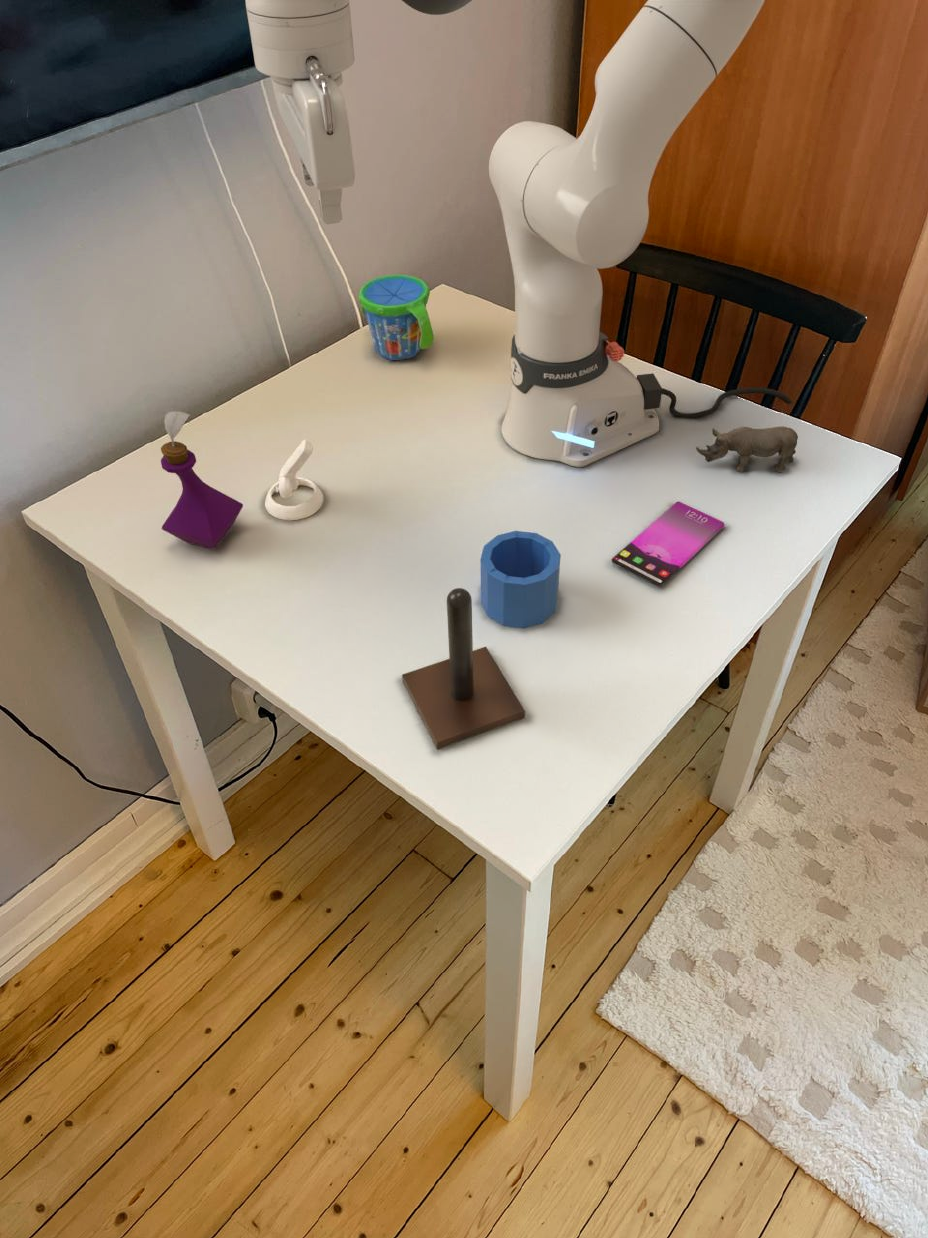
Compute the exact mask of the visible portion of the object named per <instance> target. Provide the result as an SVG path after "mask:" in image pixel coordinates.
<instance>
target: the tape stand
mask: <svg viewBox="0 0 928 1238" xmlns="http://www.w3.org/2000/svg"><path fill="white" fill-rule="evenodd" d="M446 615H447V636H448V657H449V658H447V659H445V660H441V661H438V662H435V663H432V664H429V665H427V666H424V667H421V668H418V669H415V670H412V671H409V672H405V673H403V674H401V678H402V683H403V685H404V688H405V689H406V691H407V693H408V695H409V697H410V699H411V701H412V703H413V705H414V707H415V710H416V712H417V713H418V715H419V717H420V719H421V721H422V723H423V725H424V727H425V729H426V731H427V732H428V734H429V736H430V738H431V741H432V742H433V744H434V747H435V749H436V750H439V749H443V748H446V747H447V746H450V745H453V744H456V743H459V742H462V741H464V740H468V739H470V738H473V737H476V736H479V735H481V734H483V733H487V732H489V731H492V730H495V729H498V728H501V727H503V726H506V725H508V724H511V723H514V722H517V721H520V720H523V719H525V718H526V710H525V708H524V706H523V705H522V703H521V702H520V699H519V698H518V697H517V695H516V694H515V692H514V690H513V689H512V687H511V686H510V684H509V682H508V681H507V679H506V677H505V676H504V674H503V672H502V671H501V669H500V667H499V666H498V664H497V662H496V660H495V659H494V658H493V655H492V654H491V653H490V651H489V649H488V648H487V646H484V647H481V648H477V649H473V648H474V646H473V645H474V643H473V639H474V638H473V598H472V596H471V594H470V592H469V591H468V590H466V589H465V588H462V587H457V588H454V589H452V590H451V591H449V593H448V594H447V597H446Z"/></svg>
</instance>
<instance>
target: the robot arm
mask: <svg viewBox="0 0 928 1238" xmlns="http://www.w3.org/2000/svg"><path fill="white" fill-rule="evenodd" d="M401 1H402V3H404V4H406V5H407V6H408V7H410V8H411V9H413V10H415V11H417V12H419V13H422V14H425V15H432V16H441V15H447V14H451V13H453V12H456V11H459V10H460V9H462V8H463V7H465V6H467V5H468V4H469V3H471V2H472V1H473V0H401ZM765 1H766V0H647V1H646V2H645V3H644V5H643V6H642V8H641V9H640V10H639V11H638V13H637V14H636V16H635V17H634V18H633V19H632V21H631V22H630V23H629V25H628V26H627V28H626V29H625V30H624V31H623V33H622V34H621V36H620V37H619V38H618V40H617V41H616V43H614V45H613V46H612V48H611V49H610V50H609V52H608V53H607V54H606V56H605V57H604V59H603V60H602V61H601V63H600V64H599V65H598V67H597V69H596V72H595V76H594V90H595V99H594V103H593V106H592V110H591V113H590V115H589V117H588V119H587V121H586V123H585V126H584V128H583V130H582V132H581V133H580V135H579V136H578V138H576V137H575V136H574V135H573V134H570V133H569V132H567V131H566V130H564V129H563V128H562V127H559V126H557V125H553V124H550V123H549V124H548V123H544V122H538V121H531V120H525V121H521V122H520V121H519V122H518V123H515V124H513V125H512V126H510V127H509V128H507V129H506V130H505V131H504V132H503V133H502V134H501V135H500V136H499V137H498V139H497V140H496V142H495V143H494V145H493V148H492V150H491V153H490V156H489V161H488V174H489V175H488V176H489V179H490V183H491V185H492V188H493V190H494V192H495V195H496V197H497V200H498V203H499V208H500V211H501V215H502V221H503V226H504V231H505V236H506V242H507V248H508V252H509V257H510V262H511V269H512V274H513V281H514V282H513V283H514V284H513V285H514V334H513V336H512V338H511V345H510V348H511V349H510V365H509V366H510V379H511V387H510V393H509V399H508V404H507V409H506V412H505V416H504V418H503V421H502V423H501V427H500V429H501V435H502V437H503V439H504V441H505V443H506V444H508V445H509V446H510V447H511V448H512V449H513V450H515V451H517V452H519V453H520V454H522V455H525V456H528V457H530V458H535V459H540V460H547V461H554V462H555V461H556V462H560V463H563V464H566V465H568V466H572V467H576V468H583V467H586V466H588V465H591V464H593V463H595V462H597V461H598V460H601V459H604V458H606V457H607V456H610V455H612V454H614V453H617V452H619V451H621V450H622V449H624V448H626V447H629V446H632V445H633V444H636V443H639V442H640V441H642V440H645V439H647V438H649V437H651V436H653V435H655V434H657V433H658V432H659V431H660V419H659V415H658V413H657V412H656V410H655V409H661V403H662V396H663V395H665V396H666V397H668V398H669V399H670V403H669V407H668V410H669V413H670V414H671V415H672V416H674V417H675V418H677V419H678V418H679V419H686V420H687V419H688V420H689V419H690V420H692V419H698V418H702V417H707V416H710V415H712V414H715V413H716V412H717V411H718V409H719V408H720V407H721V405H722V402H723V401H724V400H725V399H726V398H730V397H733V396H739V395H744V394H745V395H746V394H763V395H764V394H766V395H770V396H774V397H776V398H778V399H780V400H781V401H782V402H784V403H785V404H787V405H790V404H793V401H792V399H791V398H789V397H788V396H787V395H786V394H784V393H783V392H780V391H778V390H775V389H773V388H767V387H744V388H738V389H737V388H736V389H732V390H728V391H725V392H723V393H721V394H719V396H718V397H717V398H716V401H715V402H714V404H713V406H712V407H710V408H708V409H705V410H701V411H697V412H691V413H684V412H680V411H678V410H676V406H677V402H678V401H677V396H676V394H675V393H674V392H672V390H670V389H667V388H663V387H662V386H661V383H660V382H659V381H658V379H657V377H656V376H655V374H654V373H643V374H637V375H636V376H635V374H634V373H633V372H632V371H631V370H630V369H629V368H628V367H627V366H625V365H624V364H623V363H621V362H620V361H621V360H622V358H624V356H625V350H624V348H623V347H622V346H621V345H620V344H619V343H618V342H617V341H611V342H610V341H609V337H608V336H607V335H606V334H605V333H603V332H602V331H600V329H601V317H602V305H603V296H604V295H603V294H604V290H603V289H604V287H603V282H602V277H601V274H600V272H599V270H598V269H610V268H612V267H616V266H618V265H619V264H621V263H623V262H624V261H625V260H626V259H628V258H629V257H630V256H631V255H632V254H633V253H634V252H635V251H636V250H637V248H638V247H639V245H640V244H641V242H642V241H643V239H644V236H645V235H646V231H647V228H648V225H649V217H650V210H649V209H650V207H649V192H650V188H651V183H652V180H653V177H654V174H655V172H656V169H657V166H658V164H659V162H660V159H661V157H662V155H663V153H664V150H665V149H666V147H667V145H668V143H669V142H670V140H671V138H672V137H673V135H674V133H675V132H676V130H677V129H678V128H679V127H680V125H681V124H682V122H683V121H684V120H685V118H686V117H687V116H688V115H689V113H690V112H691V110H692V109H693V107H694V106H696V104H697V103H698V101H699V100H700V98H702V96H703V94H705V92H706V91H707V89H708V88H710V86H711V84H712V83H713V82H714V81H715V79H716V78H717V77H718V75H719V74H720V72H721V71H722V70H723V69H724V67H726V65H727V63H729V61H730V59H731V58H732V57H733V55H734V53H736V50H737V49H738V48H739V46H740V45H741V43H742V41H743V40H744V39H745V37H746V36H747V33H748V32H749V31H750V29H751V27H752V25H753V24H754V22H755V19H756V18H757V16H758V14H759V12H760V11H761V9H762V8H763V6H764V3H765ZM245 10H246V15H247V21H248V28H249V35H250V42H251V47H252V53H253V60H254V61H253V62H254V66H255V68H256V70H257V71H258V72H260V73H261V74H263V75H265V76H268V77H270V82H271V85H272V89H273V93H274V97H275V101H276V105H277V108H278V111H279V115H280V117H281V120H282V121H283V124H284V125H285V128H286V130H287V132H288V134H289V136H290V139H291V140H292V142H293V145H294V147H295V148H296V150H297V153H298V157H299V162H300V166H301V173H302V178H303V181H304V183H305V184H306V185H307V186H309V187H313V186H314V187H315V189H316V190H317V192H318V203H319V211H320V217H321V219H322V221H323V222H324V224H326V225H333V224H339V223H341V221H342V220H343V213H342V195H343V189H346V188H350V187H352V186H354V183H355V177H356V176H355V174H356V173H355V161H354V154H353V147H352V145H353V144H352V140H351V139H352V138H351V132H350V131H351V129H350V124H349V118H348V117H349V116H348V111H347V106H346V102H345V98H344V95H343V93H342V90H341V89H340V87H341V86H342V84H343V82H344V81H343V72H344V71H346V70H348V69H350V68H351V67H352V66H353V65H354V63H355V48H354V39H353V26H352V15H351V5H350V0H245Z"/></svg>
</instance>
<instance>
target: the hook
mask: <svg viewBox="0 0 928 1238" xmlns="http://www.w3.org/2000/svg"><path fill="white" fill-rule="evenodd" d="M313 451H314V446H313V444H312V442H310V441H309V440H308V439H303V440H302V441H301V442H300V443H299V444H298V446H297V447H296V449H295V450H294V451H293V452H292V453H291V455H290V457H289V458H288V459H287V460H286V462H285V463H284V464H283V466H282V468H281V469H280V471H279V477H278V481H277V482H275V483H274V484H273V485H272V486H271V487H270V488H269V490H268V492H267V494H266V497H265V501H264V507H265V509H266V511H267V513H268V515H271V516H272V517H274V518H276V519H279V520H282V521H298V520H302V519H306V518H308V517H311V516H312V515H314V514H315V513H317V512H318V511H319V510H320V509H321V507H322V506H323V504H324V495H323V493H322V491H321V489H320V488H319V486H317V484H316V483H315V482H313V481H312V480H311V479H308V478H305V477H299V476H296V475H297V473H298V472H299V471H300V470H301V469H302V467H303V466H304V464H305V463H306V462H307V461H308V459H309V458H310V457H311V455H312V453H313ZM298 486H303V487H308V488H311V489H313V494H312V495H311V497H310V498H309V499H308V500H307V501H305V502H302V503H300V504H297V505H283V504H279V503H278V502H276V501H275V500H274V499H273V497H272V496H273V495H274V494H275V493H279V494H280V497H281V498H283V499H290V498H291V497H293V491H295V490H296V491H297V489H298Z"/></svg>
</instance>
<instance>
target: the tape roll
mask: <svg viewBox="0 0 928 1238" xmlns="http://www.w3.org/2000/svg"><path fill="white" fill-rule="evenodd" d="M561 557H562V556H561V553H560V551H559V550H558V548H557V547H556V545H555V543H554V541H552V540H551V539H549V538H546V537H545V536H543V535H541V534H539V533H538V532H530V531H522V530H513V531H509V532H505V533H501V534H497V535H495V537H493V538H492V539H491V540H490V541H488V542H486V544H485V545H484V546H483V548H482V552H481V555H480V559H479V560H480V561H479V562H480V563H479V564H480V605H481V607H482V608H483V610H484V612H485V614H486V616H487V617H488V618H489V619H491V620H493V621H494V622H496V623H497V624H499V625H501V626H503V627H508V628H515V629H527V628H531V627H534V626H538V625H543V624H544V623H545V622H546V621H547V620H549V618H550V617H551V616H553V615H554V614H555V613H556V610H557V604H558V600H559V599H558V598H559V584H560V570H561Z"/></svg>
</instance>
